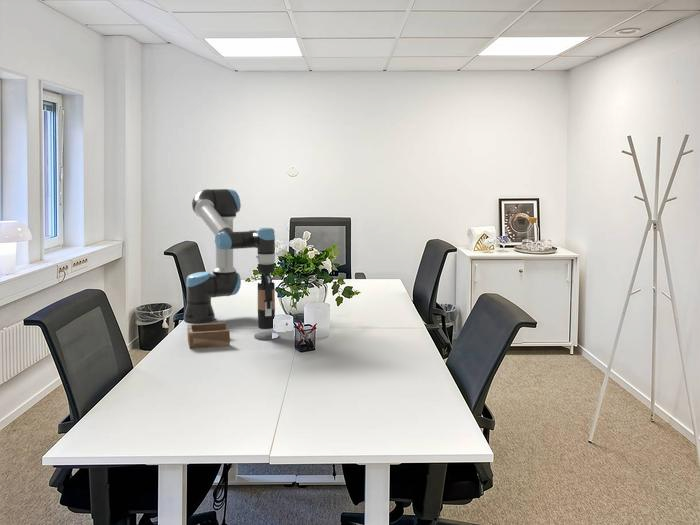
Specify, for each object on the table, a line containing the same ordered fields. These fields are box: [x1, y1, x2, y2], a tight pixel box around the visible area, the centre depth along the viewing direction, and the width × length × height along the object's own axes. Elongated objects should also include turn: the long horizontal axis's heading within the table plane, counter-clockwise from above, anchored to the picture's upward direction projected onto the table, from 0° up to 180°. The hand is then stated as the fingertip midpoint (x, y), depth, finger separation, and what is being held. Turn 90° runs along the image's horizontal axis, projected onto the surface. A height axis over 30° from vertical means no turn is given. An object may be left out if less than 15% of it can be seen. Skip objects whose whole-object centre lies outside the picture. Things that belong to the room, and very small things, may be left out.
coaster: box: [253, 331, 273, 341], centre depth 265 cm, size 11×11×1 cm
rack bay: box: [186, 322, 231, 349], centre depth 254 cm, size 15×16×6 cm
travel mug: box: [257, 281, 276, 330], centre depth 263 cm, size 8×8×20 cm
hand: (266, 313), depth 263 cm, fingers closed on travel mug, 8 cm apart
